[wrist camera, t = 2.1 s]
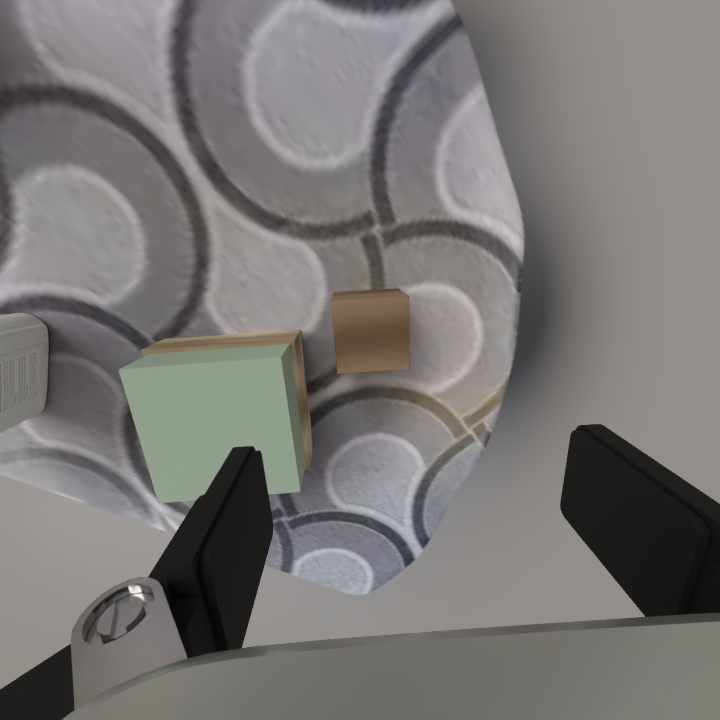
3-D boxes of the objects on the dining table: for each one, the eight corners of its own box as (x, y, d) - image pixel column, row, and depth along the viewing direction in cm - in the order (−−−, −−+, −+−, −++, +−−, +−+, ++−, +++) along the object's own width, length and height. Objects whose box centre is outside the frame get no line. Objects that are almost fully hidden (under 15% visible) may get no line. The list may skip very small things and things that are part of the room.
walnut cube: (334, 292, 32) (331, 300, 26) (397, 288, 32) (408, 296, 26) (339, 353, 34) (337, 373, 28) (399, 349, 34) (409, 369, 28)
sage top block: (148, 354, 29) (118, 369, 25) (289, 343, 29) (280, 357, 25) (180, 473, 32) (158, 503, 29) (305, 463, 32) (300, 492, 29)
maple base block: (167, 337, 33) (140, 350, 29) (300, 329, 33) (294, 340, 29) (194, 453, 37) (174, 479, 32) (313, 445, 37) (309, 470, 33)
